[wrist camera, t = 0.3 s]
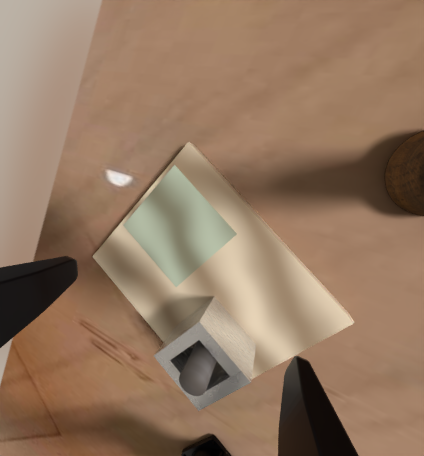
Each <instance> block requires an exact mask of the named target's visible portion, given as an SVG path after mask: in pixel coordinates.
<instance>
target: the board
mask: <svg viewBox="0 0 424 456" xmlns="http://www.w3.org/2000/svg"><path fill="white" fill-rule="evenodd" d="M93 258H94V259H95V260H96V262H97V263H98V264H99V265H100V266H101V268H102V269H103V270H104V271H105V272H106V274H107V275H108V276H109V277H110V278H111V280H112V281H113V282H114V283H115V284H116V286H117V287H118V288H119V289H120V290H121V292H122V293H123V294H124V295H125V296H126V298H127V299H128V300H129V301H130V302H131V304H132V305H133V306H134V307H135V308H136V310H137V311H138V312H139V313H140V314H141V316H142V317H143V318H144V319H145V321H146V322H147V323H148V324H149V325H150V327H151V328H152V329H153V330H154V331H155V333H156V334H157V335H158V336H159V337H160V339H161V340H162V341H163V342H164V341H165V340H166V339H167V337H168V336H169V335H170V333H171V332H172V330H173V329H174V328H175V327H176V326H177V325H178V324H179V323H181V322H182V321H183V320H185V319H186V318H187V317H188V316H190V315H191V314H192V313H194V312H195V311H196V310H197V309H199V308H200V307H201V306H203V305H204V304H205V303H206V302H208V301H209V300H210V299H212V298H213V297H215V298H216V299H217V300H218V301H219V302H220V303H221V305H222V306H223V307H224V308H225V309H226V310H227V312H228V313H229V314H230V315H231V316H232V317H233V318H234V320H235V321H236V322H237V323H238V324H239V325H240V327H241V328H242V329H243V330H244V331H245V332H246V333H247V335H248V336H249V337H250V338H251V339H252V340H253V341H254V343H255V344H256V350H255V357H254V364H253V371H252V379H253V378H255V377H256V376H258V375H260V374H262V373H264V372H266V371H267V370H269V369H271V368H273V367H275V366H277V365H278V364H280V363H282V362H284V361H286V360H288V359H289V358H291V357H293V356H295V355H297V354H298V353H300V352H302V351H304V350H306V349H308V348H309V347H311V346H313V345H315V344H317V343H319V342H320V341H322V340H324V339H326V338H328V337H330V336H331V335H333V334H335V333H337V332H339V331H341V330H342V329H344V328H346V327H348V326H350V325H352V324H353V323H354V321H353V319H352V318H351V316H350V314H349V313H348V312H347V311H346V309H345V308H344V307H343V306H342V305H341V304H340V303H339V302H338V301H337V300H336V299H335V297H334V296H333V295H332V294H331V293H330V292H329V291H328V290H327V289H326V288H325V287H324V285H323V284H322V283H321V282H320V281H319V280H318V279H317V278H316V277H315V276H314V275H313V273H312V272H311V271H310V270H309V269H308V268H307V267H306V266H305V265H304V264H303V263H302V261H301V260H300V259H299V258H298V257H297V256H296V255H295V254H294V253H293V252H292V251H291V250H290V248H289V247H288V246H287V245H286V244H285V243H284V242H283V241H282V240H281V239H280V238H279V236H278V235H277V234H276V233H275V232H274V231H273V230H272V229H271V228H270V227H269V226H268V224H267V223H266V222H265V221H264V220H263V219H262V218H261V217H260V216H259V215H258V214H257V212H256V211H255V210H254V209H253V208H252V207H251V206H250V205H249V204H248V203H247V202H246V200H245V199H244V198H243V197H242V196H241V195H240V194H239V193H238V192H237V191H236V190H235V189H234V187H233V186H232V185H231V184H230V183H229V182H228V181H227V180H226V179H225V178H224V177H223V175H222V174H221V173H220V172H219V171H218V170H217V169H216V168H215V167H214V166H213V165H212V163H211V162H210V161H209V160H208V159H207V158H206V157H205V156H204V155H203V154H202V153H201V151H200V150H199V149H198V148H197V147H196V146H195V145H194V144H192V143H190V142H188V143H187V144H186V145H185V147H184V148H183V149H182V150H181V151H180V153H179V154H178V155H177V156H176V157H175V159H174V160H173V161H172V162H171V163H170V165H169V166H168V167H167V168H166V169H165V170H164V172H163V173H162V174H161V175H160V176H159V178H158V179H157V180H156V181H155V182H154V184H153V185H152V186H151V187H150V188H149V190H148V191H147V192H146V193H145V194H144V196H143V197H142V198H141V199H140V200H139V202H138V203H137V204H136V205H135V206H134V208H133V209H132V210H131V211H130V212H129V214H128V215H127V216H126V217H125V218H124V219H123V221H122V222H121V223H120V224H119V225H118V227H117V228H116V229H115V230H114V231H113V233H112V234H111V235H110V236H109V237H108V239H107V240H106V241H105V242H104V243H103V245H102V246H101V247H100V248H99V249H98V251H97V252H96V253H95V254H94V255H93ZM216 361H217V360H216V359H215V358H214V357H213V356H212V354H211V353H210V352H209V351H208V350H207V349H206V347H205V346H204V345H203V344H202V343H201V341H200V340H198V341H197V343H196V345H195V347H194V349H193V351H192V353H191V355H190V356H189V358H188V360H187V362H186V364H185V366H184V368H183V370H182V372H181V374H180V376H179V382H180V385H181V387H182V388H183V389H184V390H185V391H186V392H187V393H188V394H190V395H193V396H201V395H203V394H204V393H205V392H206V389H207V386H208V383H209V381H210V378H211V375H212V372H213V369H214V366H215V364H216Z"/></svg>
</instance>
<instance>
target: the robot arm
mask: <svg viewBox="0 0 424 456" xmlns="http://www.w3.org/2000/svg"><path fill="white" fill-rule="evenodd" d="M77 276H78V271H77V261H76V260H75V259H73V258H71V257H68V256H64V257H58V258H53V259H47V260H41V261H35V262H30V263H24V264H19V265H13V266H7V267H2V268H0V348H1V347H2V346H3V345H4V344H6V343H7V342H8V341H9V340H10V339H12V338H13V337H14V336H15V335H16V334H18V333H19V332H20V331H21V330H22V329H24V328H25V327H26V326H27V325H28V324H30V323H31V322H32V321H33V320H34V319H36V318H37V317H38V316H39V315H40V314H41V313H43V312H44V311H45V310H46V309H47V308H48V307H49V306H50V305H51V304H52V303H53V302H54V301H55V300H56V299H57V298H58V297H59V296H60V295H61V294H62V293H63V292H64V291H65V290H66V289H67V288H68V287H69V286H70V285H71V284H72V283H73V282H74V281H75V280H76V279H77ZM181 455H182V456H231V455H230V454H229V453H228V451H227V450H226V449H225V448H224V446H223V445H222V444H221V443H220V442H219V440H218V439H217V438H216V437H214V436H211V437H209V438H207V439H205V440H203V441H201V442H198V443H196V444H194V445H192V446H190V447H188V448H186V449H184V450H183V451H182V454H181ZM278 456H359V455H358V454H357V452H356V450H355V448H354V446H353V444H352V442H351V440H350V438H349V437H348V435H347V433H346V431H345V429H344V427H343V425H342V423H341V421H340V419H339V418H338V416H337V414H336V412H335V410H334V408H333V406H332V404H331V402H330V400H329V399H328V397H327V395H326V393H325V391H324V389H323V387H322V385H321V383H320V382H319V380H318V378H317V376H316V374H315V372H314V370H313V368H312V366H311V364H310V363H309V362H308V361H307V360H306V359H303V358H301V357H299V356H295V357H294V358H293V359H292V361H291V363H290V364H289V366H288V368H287V369H286V372H285V376H284V384H283V393H282V403H281V412H280V421H279V438H278Z"/></svg>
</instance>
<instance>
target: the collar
mask: <svg viewBox="0 0 424 456" xmlns="http://www.w3.org/2000/svg"><path fill="white" fill-rule="evenodd" d="M198 340H200V341H201V343H202V344H203V345H204V346H205V347H206V349H207V350H208V351H209V352H210V353H211V354H212V356H213V357H214V358H215V359H216V360H217V361H216V364H215V366H214V369H213V372H212V375H211V378H210V381H209V383H208V386H207V389H206V392H205V393H204V394H203V395H201V396H193V395H190V394H188V393H187V392H186V391H185V390H184V389H183V388H182V387H181V385H180V382H179V376H180V374H181V372H182V370H183V368H184V366H185V364H186V362H187V360H188V358H189V356H190V355H191V353H192V351H193V349H194V347H195V345H196V343H197V341H198ZM255 350H256V344H255V343H254V341H253V340H252V339H251V338H250V337H249V336H248V335H247V333H246V332H245V331H244V330H243V329H242V328H241V327H240V325H239V324H238V323H237V322H236V321H235V320H234V318H233V317H232V316H231V315H230V314H229V313H228V312H227V310H226V309H225V308H224V307H223V306H222V305H221V303H220V302H219V301H218V300H217V299H216V298H215V297H213V298H212V299H210V300H209V301H208V302H206V303H205V304H204V305H203V306H201V307H200V308H199V309H197V310H196V311H195V312H194V313H192V314H191V315H190V316H188V317H187V318H186V319H185V320H183V321H182V322H181V323H179V324H178V325H177V326H176V327H175V328H174V329H173V330H172V332H171V333H170V335H169V336H168V337H167V339H166V340H165V341H164V343H163V344H162V345H161V347H160V348H159V349H158V351H157V352H156V353H155V355H154V357H155V358H156V359H157V361H158V362H159V363H160V364H161V366H162V367H163V368H164V369H165V370H166V372H167V373H168V374H169V375H170V377H171V378H172V379H173V380H174V381H175V383H176V384H177V385H178V386H179V387H180V389H181V390H182V391H183V392H184V394H185V395H186V396H187V397H188V398H189V400H190V401H191V402H192V403H193V404H194V406H195V407H196V408H197V409H198V411H199V410H201V409H203V408H205V407H207V406H208V405H210V404H212V403H214V402H216V401H218V400H220V399H221V398H223V397H225V396H227V395H229V394H231V393H232V392H234V391H236V390H238V389H240V388H242V387H244V386H245V385H247V384H249V383H251V379H252V371H253V364H254V357H255Z"/></svg>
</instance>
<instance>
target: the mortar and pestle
mask: <svg viewBox="0 0 424 456" xmlns="http://www.w3.org/2000/svg"><path fill="white" fill-rule="evenodd" d="M385 184H386V188H387V191H388V193H389V195H390V197H391V199H392V200H393V201H394V202H395V203H396V204H397V205H398V206H399V207H401V208H402V209H404V210H406V211H408V212H411V213H413V214H417V215H421V216H424V131H423V132H420V133H418V134H416V135H414V136H413V137H411V138H409V139H408V140H407V141H405V142H404V143H403V144H402V145H401V146H399V147H398V149H397V150H396V151H395V152H394V153H393V155H392V156H391V158H390V160H389V162H388V164H387V168H386V172H385Z"/></svg>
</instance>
